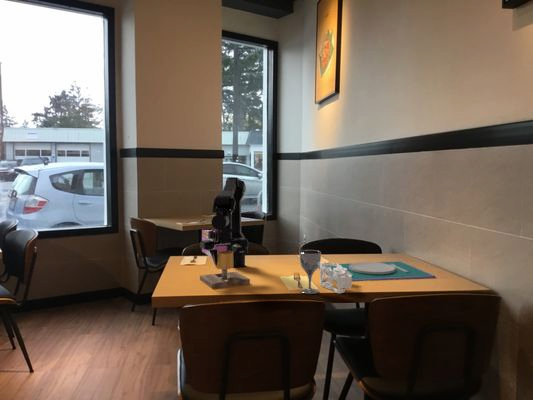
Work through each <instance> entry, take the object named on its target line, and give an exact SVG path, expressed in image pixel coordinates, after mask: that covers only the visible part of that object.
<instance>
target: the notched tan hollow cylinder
mask: <svg viewBox="0 0 533 400" xmlns="http://www.w3.org/2000/svg"><path fill="white" fill-rule="evenodd" d="M233 267H234V252H232V251H228V250H227V251H218V252H217V266H215V268H216V269H217V270H222V269H227V270H230V269H234V268H233Z"/></svg>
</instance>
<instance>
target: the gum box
mask: <svg viewBox="0 0 533 400" xmlns="http://www.w3.org/2000/svg"><path fill="white" fill-rule="evenodd" d="M209 231H214V232H216V229H215V228H211V230H210V229H203V228H202V229H201V241H203V240H211V241H213V239H209V238H208V232H209ZM216 242H217V241H216ZM215 249H217V252H218V251H228V250H227V246H215ZM201 252H202V253H204V254H205V255H206V256H208V257H210V258H211V259H213V258H212V255H211V253H210V252H209V251H208V250H204V249H202V248H201Z"/></svg>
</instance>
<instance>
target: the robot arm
mask: <svg viewBox="0 0 533 400" xmlns="http://www.w3.org/2000/svg"><path fill="white" fill-rule="evenodd" d="M246 187H247V186H246V183H245V182H244V180H241V179H239V177H236V176H234V177H233V176H229V177H226V181H225V185H224V187H223V189H222V191H221V192H218V193H217V194H216V196H215V197H214V200H213V205H212V213H214V214H215V215H214V216H213V217H212V219H211V226H212V228H213V229H216V232H214V231H209V232H208V238H209V239H213V241H211V240H203V241H202V240H201V241H200V243H199V247H200V249H201V250H202V249H204V250H208V251H209V252H210V253H211V255H212V258H211V259H212V261H213V263H214V264H213V265H214V266H215V267H216V266H217V249H215V246H227V251H232V252H234V267H233V268H232V269H239V268H247V265H246V255H247V254H249V249H248V248H249V240H248V239H247V238H245V235H244V233H243V232H242V200H243V198H244V197H245V192H246ZM216 241H217V242H216Z"/></svg>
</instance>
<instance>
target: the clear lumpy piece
mask: <svg viewBox="0 0 533 400" xmlns="http://www.w3.org/2000/svg"><path fill="white" fill-rule="evenodd" d="M339 264H340V263H337V262H327V261H325V262H321V263H320V269H319V284H320V286H321V287H322V288H325V289H327V290H330V291H334V292H335V293H336V294H343V293H345V292H346V289H349V288H352V283H353V281H352V275H349V274H347V268H343V267H342V266H341V265H339ZM326 265H327V266H337V267H336V268H333V271H332V269H331V267H325V266H326ZM323 266H324V267H323ZM325 272H327V273H329V276H328V277H327V276H326V274H325ZM332 274H333V278H332ZM325 281H327V282H325ZM333 282H336V287H334V286H333Z"/></svg>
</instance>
